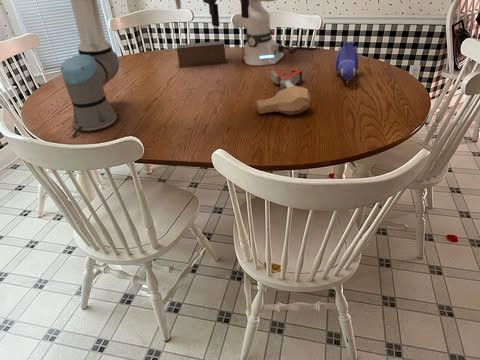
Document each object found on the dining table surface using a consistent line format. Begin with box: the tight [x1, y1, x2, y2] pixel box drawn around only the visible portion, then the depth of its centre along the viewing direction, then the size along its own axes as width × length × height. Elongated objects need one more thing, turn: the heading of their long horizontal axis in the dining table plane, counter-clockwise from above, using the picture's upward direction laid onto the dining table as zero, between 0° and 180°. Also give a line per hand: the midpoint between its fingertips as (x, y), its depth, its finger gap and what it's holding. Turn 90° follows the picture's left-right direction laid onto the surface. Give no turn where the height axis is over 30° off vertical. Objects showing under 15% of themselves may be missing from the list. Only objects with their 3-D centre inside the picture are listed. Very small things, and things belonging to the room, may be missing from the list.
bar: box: [176, 40, 227, 68], centre depth 180 cm, size 24×6×10 cm, turn 98°
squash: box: [255, 85, 312, 116], centre depth 130 cm, size 11×20×9 cm, turn 92°
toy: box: [334, 40, 360, 86], centre depth 151 cm, size 10×17×25 cm
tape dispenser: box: [270, 67, 303, 90], centre depth 150 cm, size 18×5×20 cm
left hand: (230, 21), depth 120 cm, fingers open, 13 cm apart
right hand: (179, 6), depth 166 cm, fingers open, 8 cm apart
